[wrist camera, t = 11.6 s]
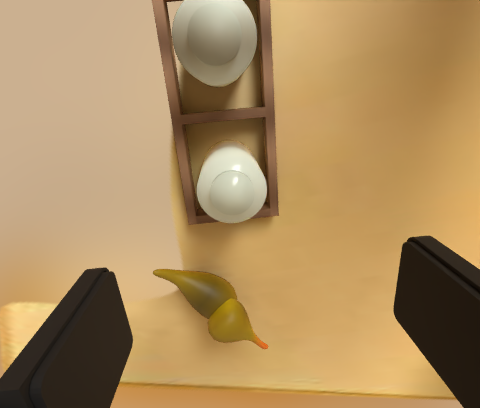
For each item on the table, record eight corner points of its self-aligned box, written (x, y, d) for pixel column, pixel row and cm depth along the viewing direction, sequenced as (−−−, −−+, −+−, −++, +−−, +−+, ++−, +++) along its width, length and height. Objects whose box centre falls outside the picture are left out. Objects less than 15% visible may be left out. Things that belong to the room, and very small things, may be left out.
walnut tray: (154, -9, 23) (117, -67, 15) (265, -19, 23) (288, -80, 15) (191, 216, 30) (179, 261, 22) (275, 208, 31) (294, 249, 22)
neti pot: (250, 327, 36) (256, 374, 30) (150, 263, 32) (133, 303, 26) (273, 305, 35) (284, 348, 29) (173, 236, 31) (161, 271, 25)
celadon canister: (200, 142, 28) (190, 162, 19) (253, 137, 28) (266, 155, 20) (206, 193, 30) (200, 231, 21) (256, 188, 30) (270, 224, 21)
